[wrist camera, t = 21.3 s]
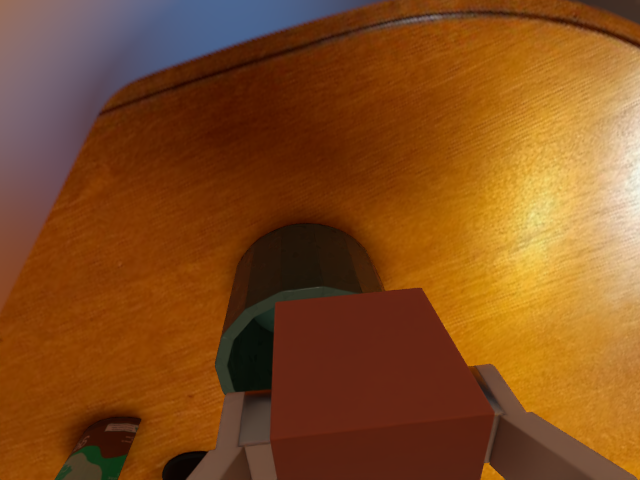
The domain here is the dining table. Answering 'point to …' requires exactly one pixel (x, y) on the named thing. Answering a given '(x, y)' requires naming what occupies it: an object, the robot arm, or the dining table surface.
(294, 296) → the tin
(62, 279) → the dining table surface
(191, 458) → the aerosol can
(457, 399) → the block
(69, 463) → the food container
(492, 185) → the dining table surface
